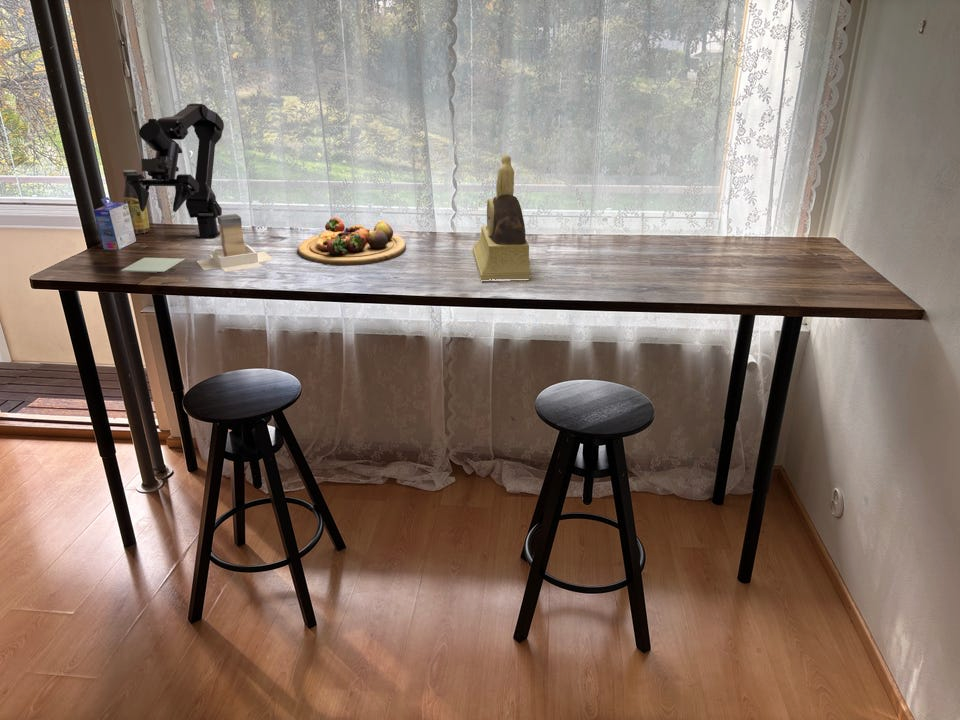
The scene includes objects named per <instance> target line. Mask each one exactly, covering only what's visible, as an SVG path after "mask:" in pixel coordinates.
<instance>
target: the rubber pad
mask: <svg viewBox="0 0 960 720" xmlns="http://www.w3.org/2000/svg"><path fill="white" fill-rule="evenodd" d="M184 260H185V258H176V257H175V258H174V257H173V258H169V257H168V258H167V257H143V258H141V259H139V260H137V261H135V262H133V263H131V264H130V265H128V266H126V267H124V268H123V269H121V272H126V273H128V272H131V273H157V272H162V273H165V271H168V270H169V269H171V268H172V267H174V266H176V265H177V264H179V263H181V262H182V261H184Z"/></svg>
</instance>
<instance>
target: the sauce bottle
mask: <svg viewBox="0 0 960 720" xmlns="http://www.w3.org/2000/svg"><path fill="white" fill-rule="evenodd" d="M128 174H138V170H137V169H124V170H123V171H122V175H123V177H124V179H125V178H126V175H128ZM124 184H125V186H124V193H123V203H127V204H128V208H129V212H130V217H131V221H132V225H133V230H134V234H135V235H143V234H142V233H144V234H146V232H147V233H149V232H150V222H149V215H148V209H147V206H146V207H145V210H144V212H142V211H141V210H140V206H139V201H138V197H137V194H136V191H134V190H133V189H132V188H131V187H130V186H129V185H128V184H126V183H125V182H124ZM148 231H149V232H148Z"/></svg>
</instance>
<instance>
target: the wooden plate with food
mask: <svg viewBox="0 0 960 720" xmlns="http://www.w3.org/2000/svg"><path fill="white" fill-rule="evenodd" d="M324 227H325V230H324V231H323V230H322V232H321V233H319V234H316V235H313V236H311V237H309V238H306V239H304V240H303V241H302V242H301V243H300V244H299V245H298V247H297V252H298V255H299V256H300V257H301V258H303V259H305V260H307V261H310V262H315V263H318V264H322V265H327V264H330V265H329V266H360V265H361V266H362V265H369V264H376V263H381V262H386V261H389V260H392V259H394V258H397V257H399V256H401V255H403V253H404V252H405V251H406V248H407V243H406V241H405V240H404V238H402V237H401V236H399V235H397V234H395V233H394V230H393V229H392V227H391V226H390V225H389V224H388V223H387V222H385V221H383V220H379V221H378V222H377V223H376V224H375V225H374V228H373V230H371V229H369V228H365V227H364V226H363V225H360V224H356V225H351V226H349V227H346V228H345V224H344V222H343V221H342V219H341V218H339V217H332V218H329V221H326V224H325V225H324Z"/></svg>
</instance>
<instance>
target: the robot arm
mask: <svg viewBox="0 0 960 720" xmlns="http://www.w3.org/2000/svg"><path fill="white" fill-rule="evenodd" d="M147 121H148V122H146V123H144V124H143V125H142V126H141V127H140V128H139V129H138V130H139V131H138V133H139V137H140V139H142V140H143V141H144V142H145V143H146V145H148V147H149V148H150V149H151V150H153V151H155V156H154V157H152V158H141V172H147V175H148V176H149V177H151V178H146V177H145V176H143V175H142V174H141V173H137V174H128V175H126V178H124V184H125V183H126V184H128V185H129V186H130V187H131V188H132V189H133V190H134V191H136V194H137V197H138V201H139V206H140V210H141V211H142V212H144V210H145V207H146V208H147V204H148V203H147V202H148V199H149V196H150V192H149V190H150V187H174V189H175V193H174V200H173V203H172V204H173V205H172V211H173V212H174V213H177V212H178V210H179V209H180V208H181V206H182V205H183V204H184V202H185V207H186V209H187V212H188V215H189V217H190V219H191V218H192V219H193V218H195V219H196V220H197V227H198V234H195V236H194V237H195V238H200V239H201V238H206V239H215V238H217V237H218V235H219V236H220V230H218V229H219V227H218V220H217V216H221V215H223V209H222V207H221V205H220V204H219V203H218V201H217V199H216V197H217V196H216V194H215V193H214V191H213V189H212V181H213V173H214V172H213V171H214V164H215V163H214V160H215V153H216V145H217V143H218V142H219V141H220V140H221V139H222V135H223V131H224V129H225V124H224V120H223V118H222V117H221V116H220V115H219V114H218V113H217V112H215V111H213V110H211V109H209V108H208V106H206V105H205V104H204V103H189V104H187V105H186V107H184V108H183V109H182V110H180V111H179V112H177V113H176V114H174V115H172V116H165V117H160V118H157V119H156V118H148V120H147ZM190 127H193V128H194V129H193V130H194V133H195V135H196V137H197V139H198V148H197V155H196V156H197V157H196V167H195V178H194V177H193V175H192V174H191V173H190V174H187V173H185V174H182V173H181V174H180V173H179V174H177V175H176V173H177V172H179V170H180V169H179V167H178V160H179V154H182V153H183V150H182V148H181V146H180V145H179V144H180V143H178V142H176V141H177V140H178V141H179V140H184V139H185V138H186V136H188V134H189V131H188V129H189V128H190Z"/></svg>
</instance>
